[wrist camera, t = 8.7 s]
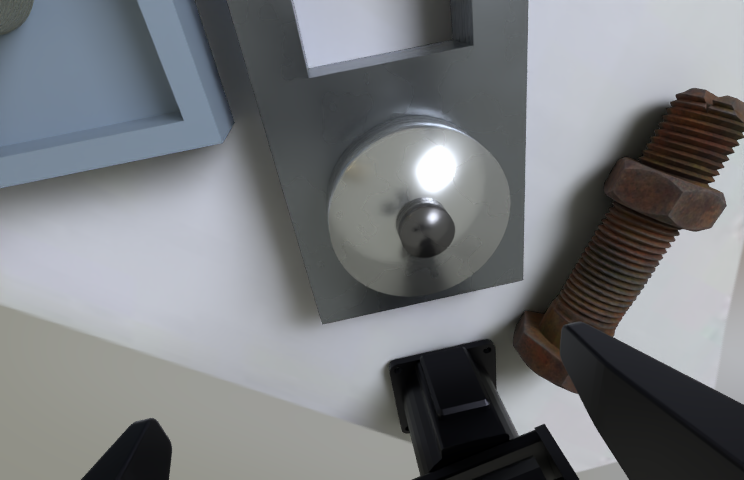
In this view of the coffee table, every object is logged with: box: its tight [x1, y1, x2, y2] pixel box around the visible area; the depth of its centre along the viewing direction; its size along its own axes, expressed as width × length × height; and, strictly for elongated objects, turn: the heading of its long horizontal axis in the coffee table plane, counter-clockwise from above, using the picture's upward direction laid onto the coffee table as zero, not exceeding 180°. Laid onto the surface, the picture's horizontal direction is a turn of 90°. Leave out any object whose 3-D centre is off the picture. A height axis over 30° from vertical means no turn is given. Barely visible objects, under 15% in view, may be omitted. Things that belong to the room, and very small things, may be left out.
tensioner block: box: [227, 0, 528, 324], centre depth 16 cm, size 18×10×6 cm, turn 10°
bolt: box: [513, 88, 744, 394], centre depth 21 cm, size 6×5×15 cm
